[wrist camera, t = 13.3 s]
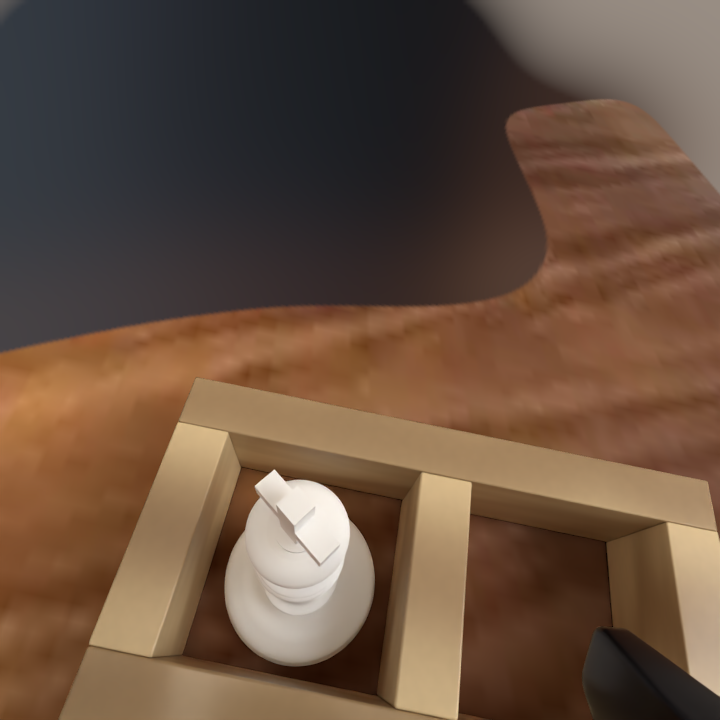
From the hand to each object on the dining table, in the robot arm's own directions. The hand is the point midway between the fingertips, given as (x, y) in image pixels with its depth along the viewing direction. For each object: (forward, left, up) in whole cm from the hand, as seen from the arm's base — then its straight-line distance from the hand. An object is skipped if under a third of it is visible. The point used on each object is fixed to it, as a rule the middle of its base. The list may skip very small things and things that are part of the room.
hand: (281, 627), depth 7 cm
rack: (-2, -4, -10) cm, 11 cm away
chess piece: (+1, -1, -10) cm, 10 cm away
